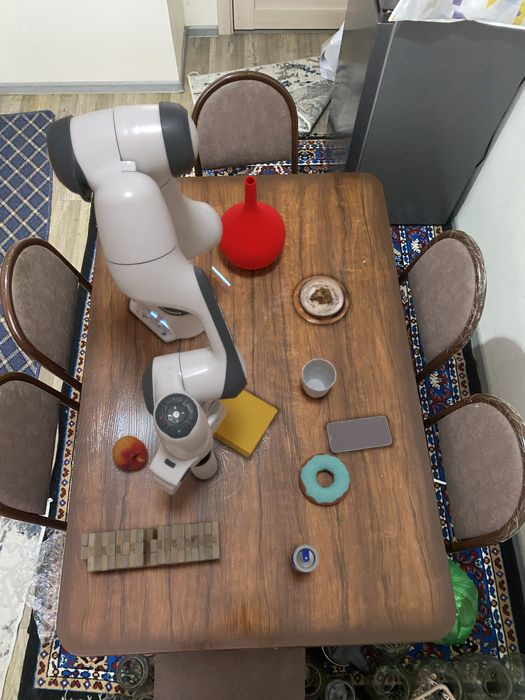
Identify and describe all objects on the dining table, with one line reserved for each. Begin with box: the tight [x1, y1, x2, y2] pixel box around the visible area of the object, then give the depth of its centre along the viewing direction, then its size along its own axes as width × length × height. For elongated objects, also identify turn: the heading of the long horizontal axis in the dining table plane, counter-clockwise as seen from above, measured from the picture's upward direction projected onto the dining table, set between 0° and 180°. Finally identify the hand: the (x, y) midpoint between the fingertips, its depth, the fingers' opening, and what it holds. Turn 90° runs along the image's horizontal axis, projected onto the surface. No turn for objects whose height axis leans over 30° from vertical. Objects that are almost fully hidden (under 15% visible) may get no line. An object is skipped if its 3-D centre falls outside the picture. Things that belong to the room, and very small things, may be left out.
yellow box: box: [213, 389, 279, 459], centre depth 128 cm, size 16×14×1 cm
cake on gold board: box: [293, 275, 349, 325], centre depth 140 cm, size 15×15×4 cm
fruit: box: [111, 435, 149, 470], centre depth 121 cm, size 8×8×8 cm
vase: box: [218, 175, 287, 270], centre depth 134 cm, size 18×18×30 cm
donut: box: [298, 452, 352, 506], centre depth 121 cm, size 12×12×4 cm
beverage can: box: [289, 544, 320, 573], centre depth 109 cm, size 5×5×15 cm
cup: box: [301, 358, 337, 398], centre depth 127 cm, size 8×8×10 cm
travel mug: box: [190, 447, 219, 480], centre depth 115 cm, size 6×7×20 cm
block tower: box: [80, 520, 221, 572], centre depth 113 cm, size 8×8×29 cm
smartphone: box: [326, 415, 393, 454], centre depth 126 cm, size 7×1×15 cm
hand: (197, 453), depth 110 cm, fingers closed on travel mug, 6 cm apart
